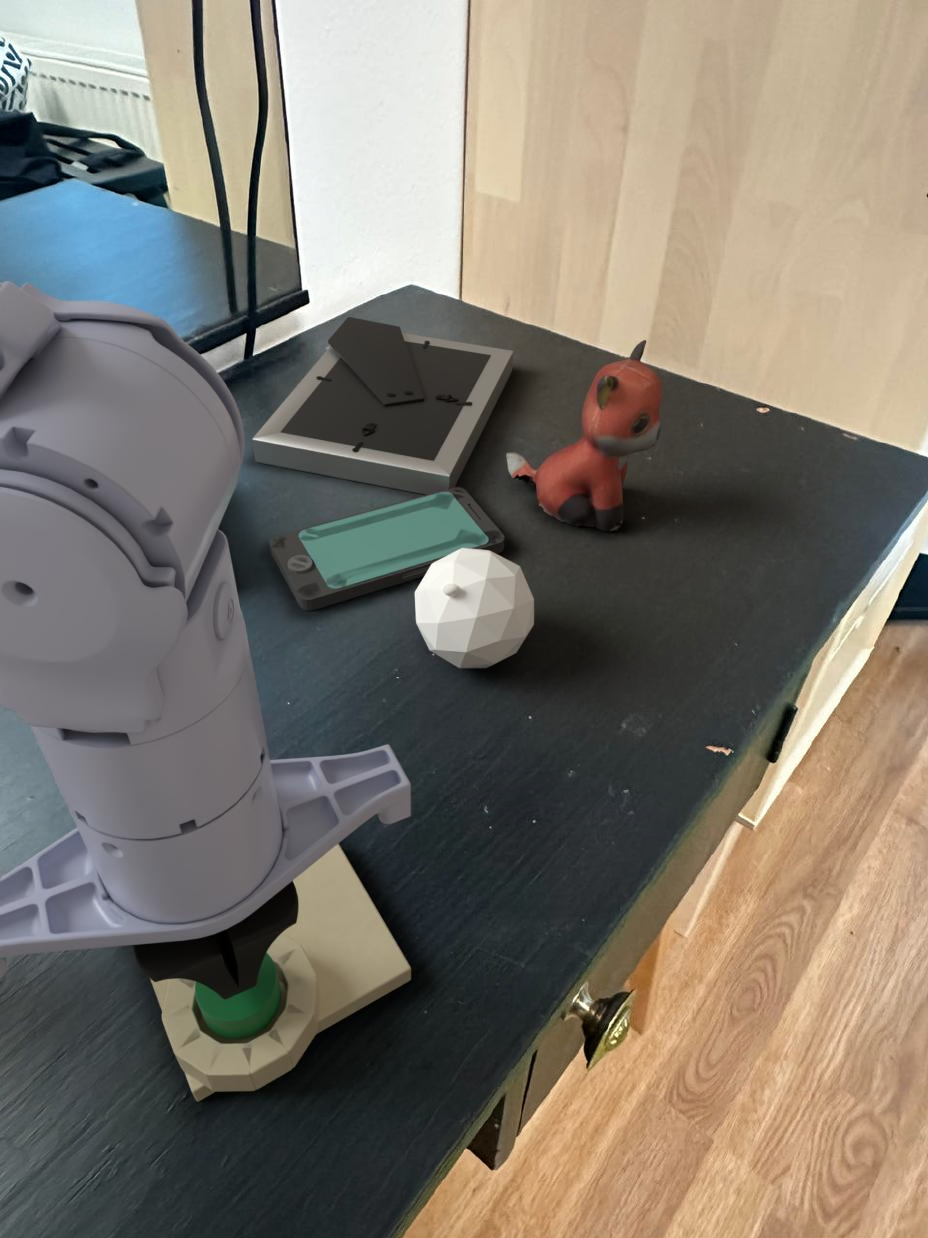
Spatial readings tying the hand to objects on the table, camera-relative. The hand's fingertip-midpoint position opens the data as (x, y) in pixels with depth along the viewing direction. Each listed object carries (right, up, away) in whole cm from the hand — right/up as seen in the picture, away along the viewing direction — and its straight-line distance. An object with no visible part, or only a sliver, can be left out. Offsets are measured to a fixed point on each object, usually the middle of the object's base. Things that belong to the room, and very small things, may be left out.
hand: (233, 970), depth 35 cm
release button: (0, -2, +2) cm, 3 cm away
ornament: (+10, +12, +21) cm, 26 cm away
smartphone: (+4, +18, +27) cm, 33 cm away
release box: (0, -2, +6) cm, 6 cm away
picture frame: (+3, +31, +41) cm, 51 cm away
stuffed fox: (+17, +23, +33) cm, 44 cm away
